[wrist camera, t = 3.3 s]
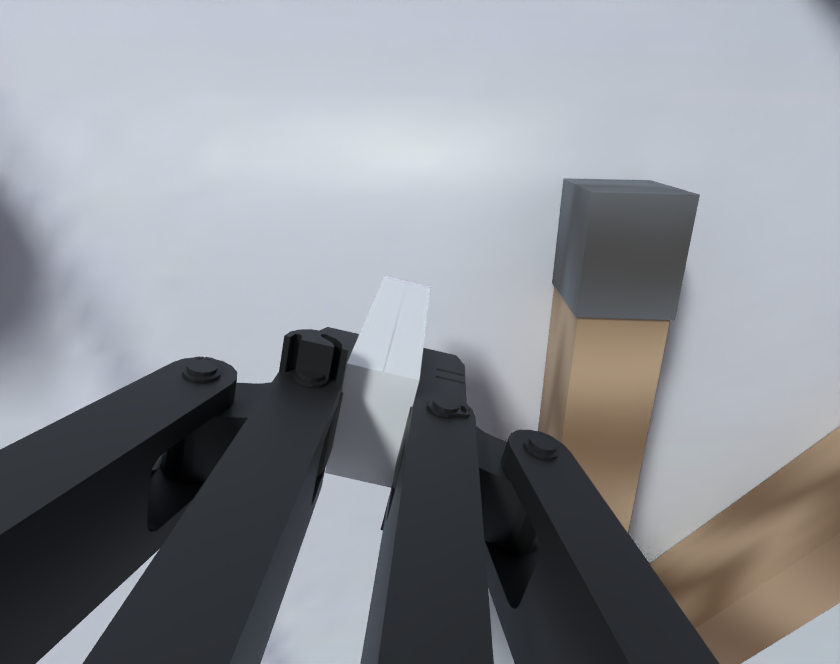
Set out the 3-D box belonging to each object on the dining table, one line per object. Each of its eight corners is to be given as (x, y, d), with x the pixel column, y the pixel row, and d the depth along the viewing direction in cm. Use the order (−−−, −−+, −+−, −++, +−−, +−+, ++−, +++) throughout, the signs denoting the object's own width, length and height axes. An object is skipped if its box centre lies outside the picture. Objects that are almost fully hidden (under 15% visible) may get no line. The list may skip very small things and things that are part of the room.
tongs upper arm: (631, 636, 28) (676, 760, 23) (513, 630, 29) (530, 752, 23) (730, 182, 20) (839, 205, 15) (563, 178, 20) (609, 200, 15)
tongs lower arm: (616, 647, 29) (645, 737, 25) (549, 598, 28) (568, 684, 23) (1024, 368, 22) (1160, 426, 18) (958, 290, 21) (1085, 333, 17)
